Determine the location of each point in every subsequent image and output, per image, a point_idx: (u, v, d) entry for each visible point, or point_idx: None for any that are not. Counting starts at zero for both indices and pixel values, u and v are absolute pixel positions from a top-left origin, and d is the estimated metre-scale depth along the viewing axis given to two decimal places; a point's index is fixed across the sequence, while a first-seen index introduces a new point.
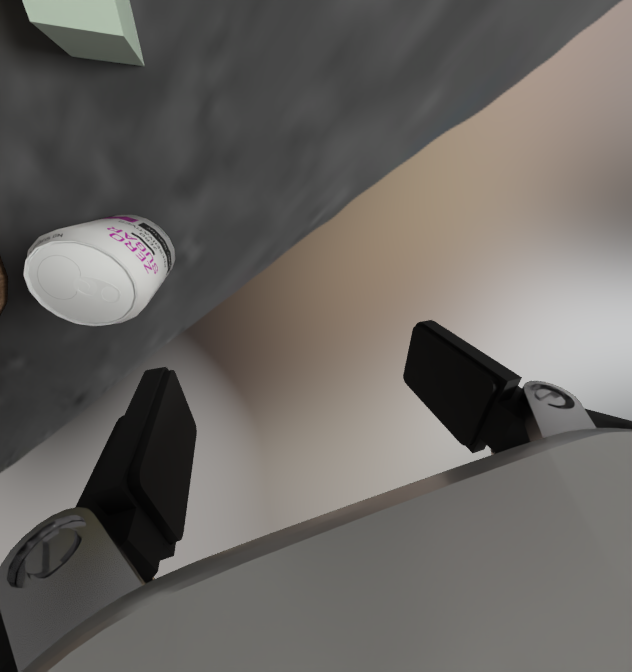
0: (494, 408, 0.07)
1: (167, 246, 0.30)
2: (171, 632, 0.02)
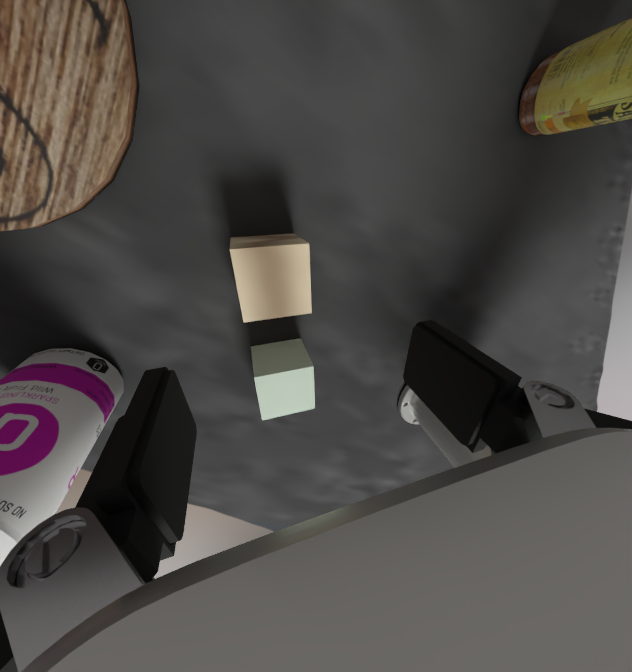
0: (494, 408, 0.07)
1: None
2: (171, 633, 0.02)
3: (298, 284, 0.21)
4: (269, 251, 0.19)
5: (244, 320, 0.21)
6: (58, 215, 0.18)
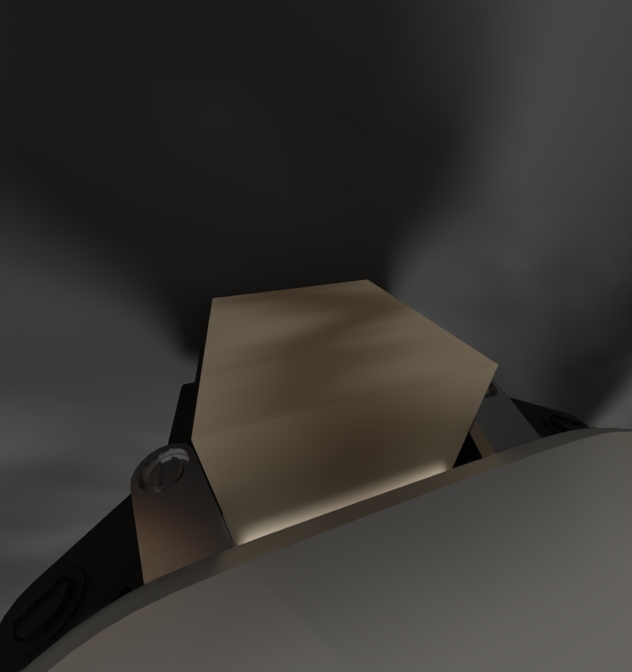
0: None
1: None
2: (171, 632, 0.02)
3: (424, 468, 0.07)
4: (360, 412, 0.05)
5: None
6: None
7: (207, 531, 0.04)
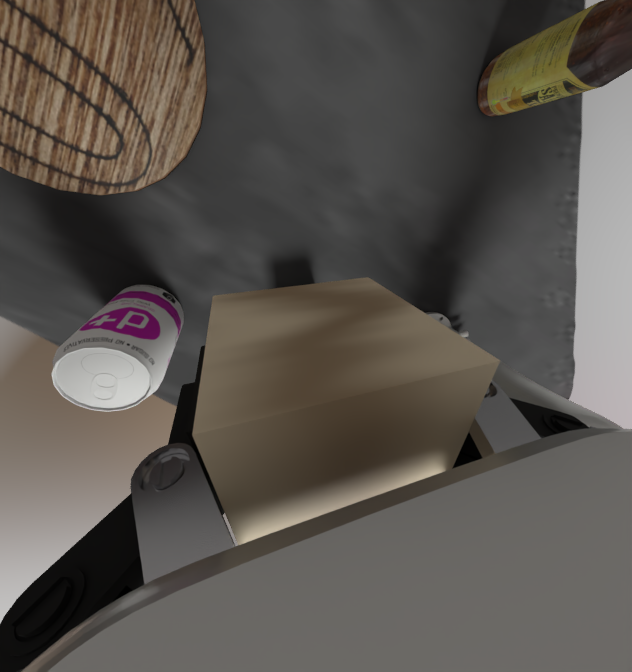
0: None
1: None
2: (170, 633, 0.02)
3: (425, 466, 0.07)
4: (361, 408, 0.05)
5: None
6: (152, 181, 0.26)
7: (207, 531, 0.04)
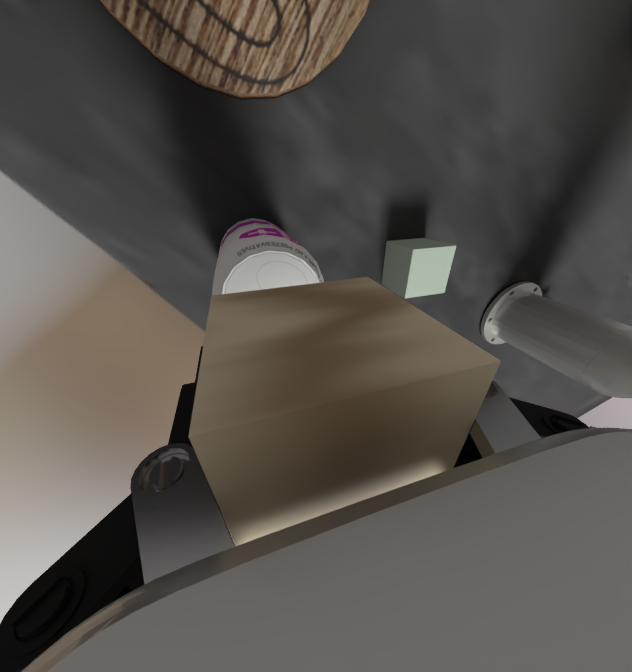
0: None
1: None
2: (170, 633, 0.02)
3: (425, 467, 0.07)
4: (360, 409, 0.05)
5: None
6: (299, 83, 0.22)
7: (207, 531, 0.04)
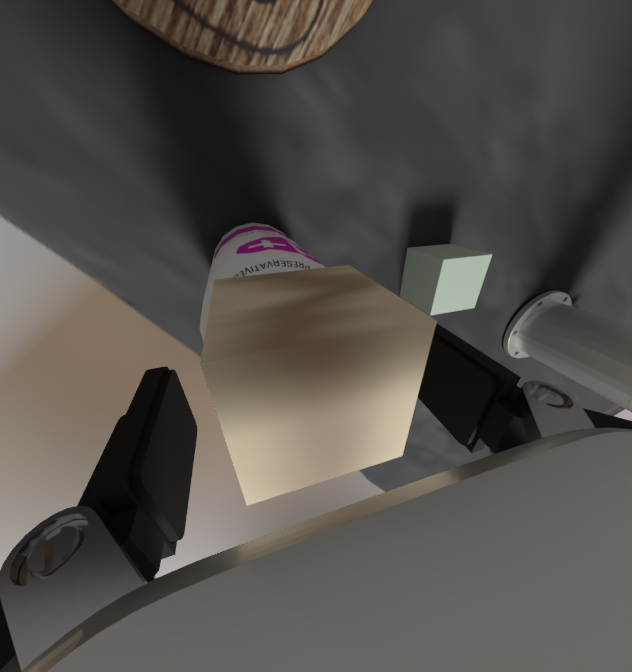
0: (493, 408, 0.07)
1: None
2: (171, 633, 0.02)
3: (387, 413, 0.08)
4: (326, 353, 0.06)
5: (249, 501, 0.08)
6: (311, 54, 0.18)
7: None
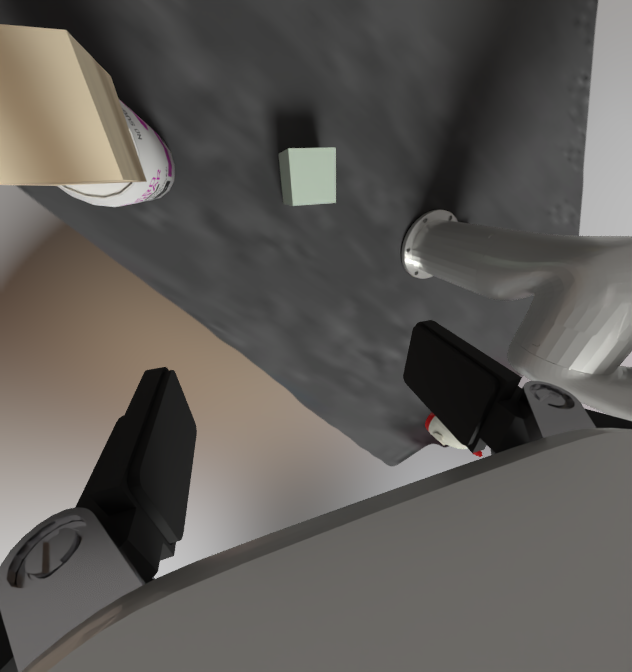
0: (494, 408, 0.07)
1: (151, 199, 0.30)
2: (171, 632, 0.02)
3: (77, 118, 0.13)
4: None
5: None
6: None
7: None
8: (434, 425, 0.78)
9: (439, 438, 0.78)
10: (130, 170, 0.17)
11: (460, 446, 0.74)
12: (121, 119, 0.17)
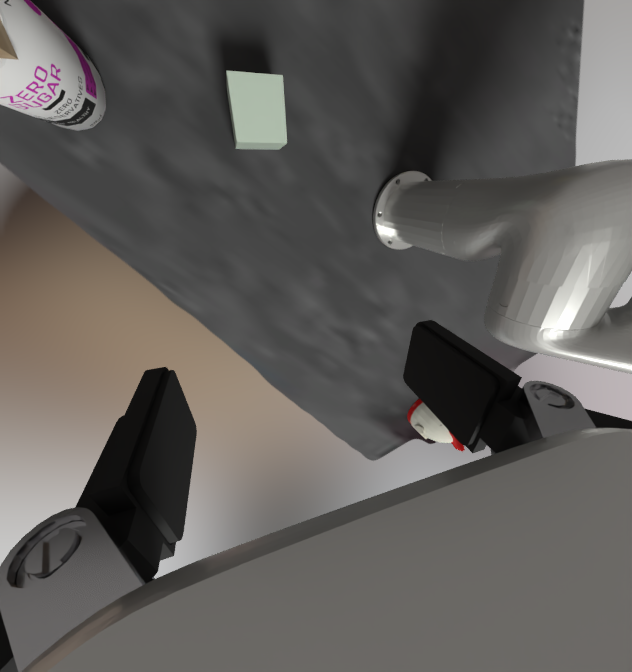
0: (494, 408, 0.07)
1: (74, 124, 0.27)
2: (171, 633, 0.02)
3: None
4: None
5: None
6: None
7: None
8: (415, 417, 0.74)
9: (420, 431, 0.73)
10: None
11: (442, 439, 0.70)
12: None
